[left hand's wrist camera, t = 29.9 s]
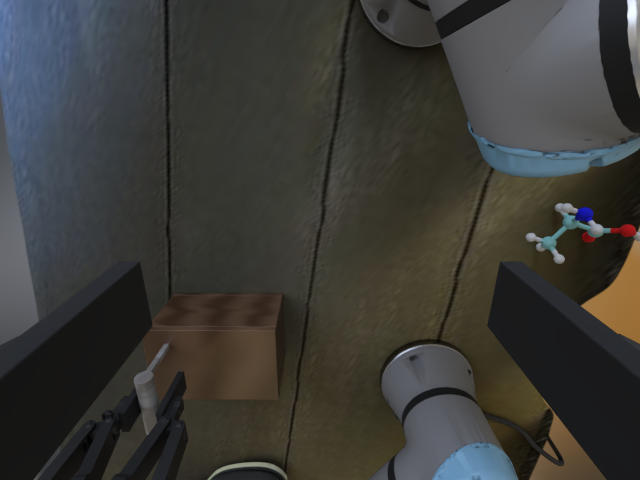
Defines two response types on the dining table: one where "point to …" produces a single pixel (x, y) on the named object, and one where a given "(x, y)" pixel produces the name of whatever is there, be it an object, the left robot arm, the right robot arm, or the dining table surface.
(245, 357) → the lid
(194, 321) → the chest
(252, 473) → the boat shoe
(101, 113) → the dining table surface
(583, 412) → the left robot arm
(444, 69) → the dining table surface
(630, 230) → the molecular model
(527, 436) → the right robot arm
